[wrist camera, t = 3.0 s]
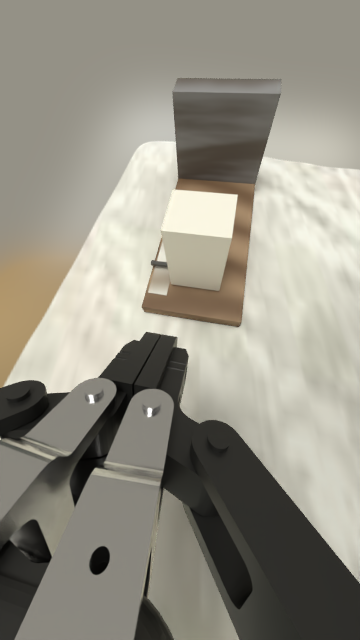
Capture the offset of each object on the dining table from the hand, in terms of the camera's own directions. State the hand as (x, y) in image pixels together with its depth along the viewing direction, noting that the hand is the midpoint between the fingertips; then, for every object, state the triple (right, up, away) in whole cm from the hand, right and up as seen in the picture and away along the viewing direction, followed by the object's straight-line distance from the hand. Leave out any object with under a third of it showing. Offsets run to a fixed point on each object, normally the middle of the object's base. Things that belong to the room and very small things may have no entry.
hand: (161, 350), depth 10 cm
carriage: (+2, +9, +17) cm, 19 cm away
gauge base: (+5, +15, +20) cm, 26 cm away
